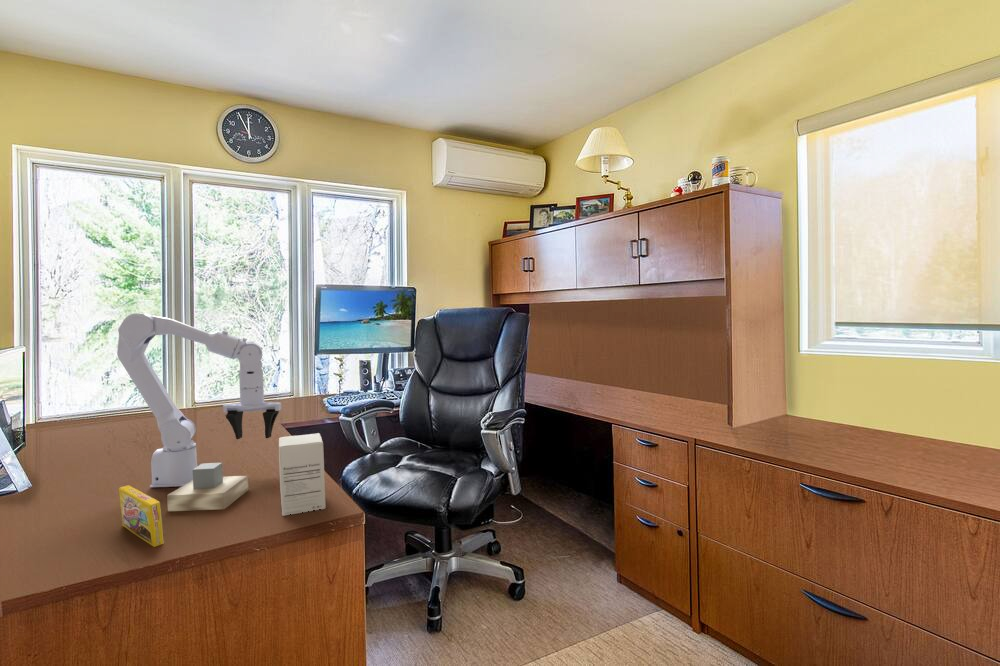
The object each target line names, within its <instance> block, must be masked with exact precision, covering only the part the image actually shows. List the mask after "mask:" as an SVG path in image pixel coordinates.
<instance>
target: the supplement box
mask: <svg viewBox="0 0 1000 666" xmlns="http://www.w3.org/2000/svg"><path fill="white" fill-rule="evenodd" d="M324 457H325V456H324V442H323V439H322V436H321V433H319V432H317V433H309V434H301V435H300V434H299V435H288V436H287V435H286V436H281V437H279V438H278V467H279V468H278V469H279V488H280V489H279V490H280V501H281V505H280V506H281V516H283V517H285V516H291V515H296V514H297V515H298V514H302V512H303V513H308V511H309V512H313V510H315V511H320V510H319V509H321V510H325V509H326V507H327V506H326V486H325V485H326V484H325V483H326V482H325V459H324ZM290 514H291V515H290Z"/></svg>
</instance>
